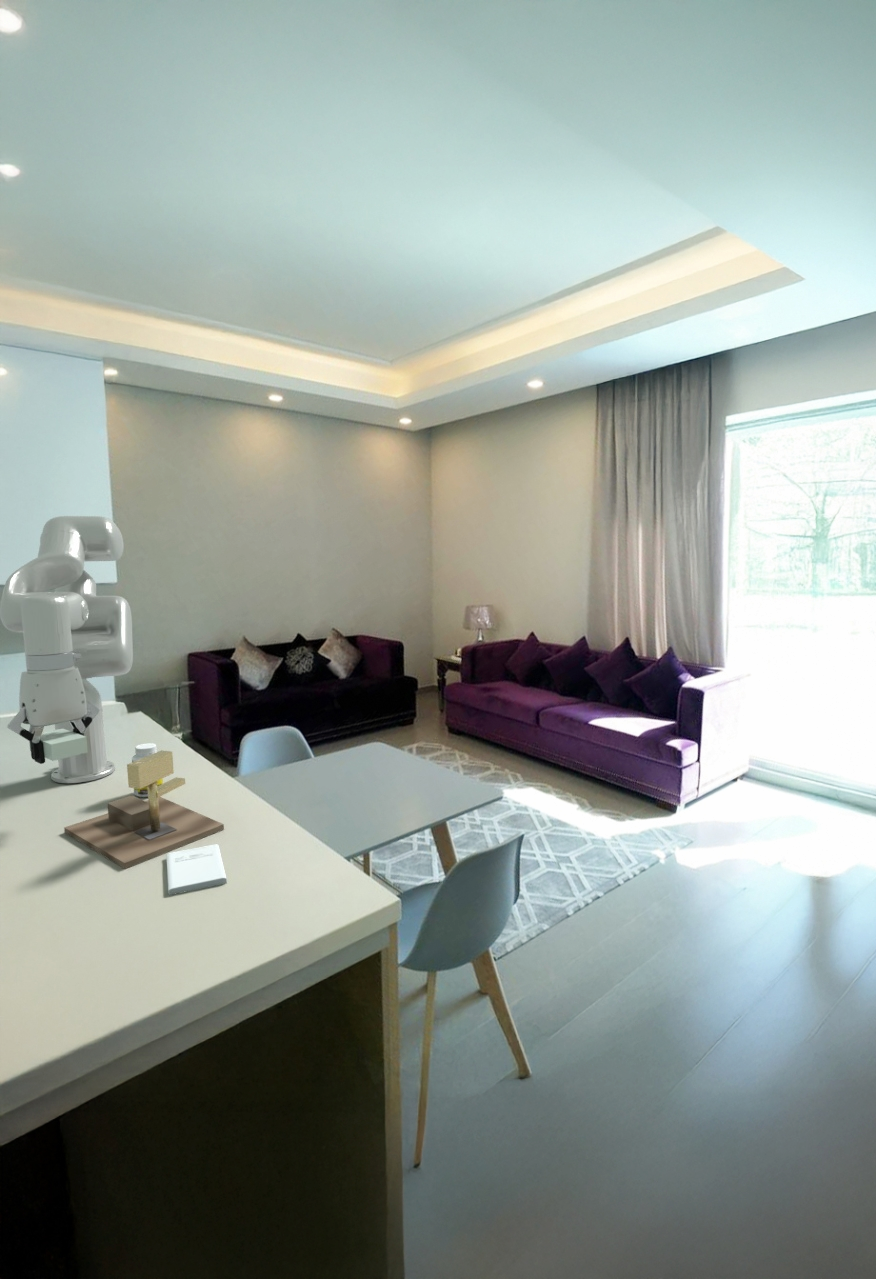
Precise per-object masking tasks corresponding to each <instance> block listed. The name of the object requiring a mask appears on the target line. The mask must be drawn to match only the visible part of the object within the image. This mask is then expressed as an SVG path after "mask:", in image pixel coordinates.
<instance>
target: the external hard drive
mask: <svg viewBox="0 0 876 1279" xmlns="http://www.w3.org/2000/svg"><path fill="white" fill-rule="evenodd" d="M166 873H167V874H166V876H167V890H168V891H167V892H168V896H173V895H172V894H174V895H176V894H175V893H178V894H181V893H180V892H183V893H185V892H184V891H188V892H191V891H190V890H192V891H196V889H197V890H201V889H200V888H202V889H206V888H205V887H207V888H211V887H215V885H216V886H220V885H225V883H226V884H228V883H227V882H228V880H227V875H226V871H225V867H224V863H223V858H222V855H221V850H220V846H219V844H217V843H215V844H209V845H205V846H200V847H193V848H188V849H183V850H178V851H177V850H176V851H170V852H167V853H166ZM210 886H211V887H210Z"/></svg>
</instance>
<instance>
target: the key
mask: <svg viewBox="0 0 876 1279" xmlns="http://www.w3.org/2000/svg"><path fill="white" fill-rule="evenodd" d="M126 769H127V770H126V772H127V783H128V788H132V789H134V788H137V789H141V788H143V787H145V786H147V789H148V797H147V800H148V802H149V815H150V828H151V830H158V829H160V814H159V801H158V797H162V796H164V795H166V794H168V793H169V792H172V791H174V790H176V789H178V788H179V787H182V786H184V785H185V784H186V778H185V777H184V778H183V777H178V776H177V777H174V778H172V779H169V780H168V781H166V782H163V784H161V785H159V786H157V781H158V780H160V779H162V778H163V779H164V778H166V777H168V776H170V775H173V774H174V773H175V772H174V771H175V770H174V760H173V751H170V750H162V749H161V750H159V751H157V752H156V753H154V754H151V755H149V756H147V757H144V758H142V759H139V760H137V761H134V762H132V761H131V762H129V763H127V764H126Z"/></svg>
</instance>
